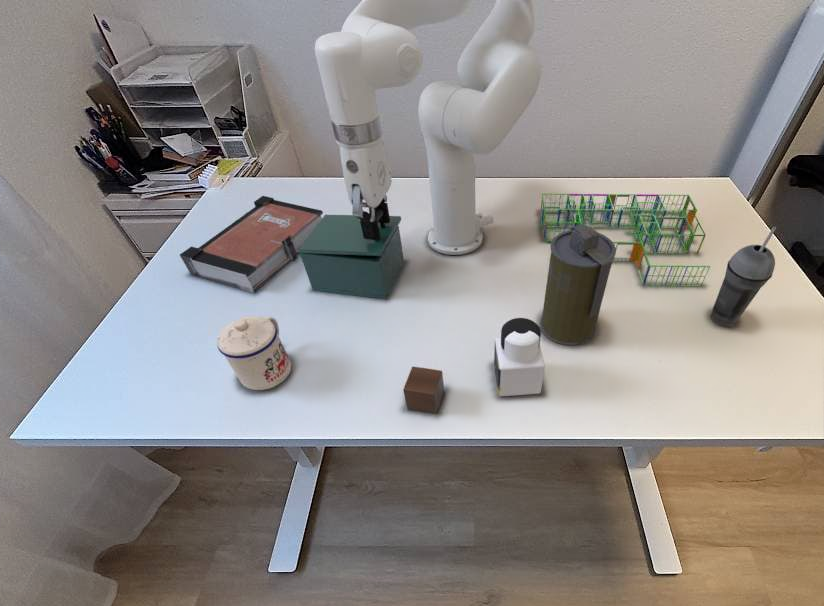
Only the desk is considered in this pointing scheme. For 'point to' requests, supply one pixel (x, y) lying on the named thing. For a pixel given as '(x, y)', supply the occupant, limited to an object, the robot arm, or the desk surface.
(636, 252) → the house model
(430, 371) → the block
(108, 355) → the desk surface
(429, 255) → the desk surface
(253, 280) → the book
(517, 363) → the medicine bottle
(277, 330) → the teacup with lid
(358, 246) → the lid
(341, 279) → the tin
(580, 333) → the canister
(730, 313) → the beverage cup
